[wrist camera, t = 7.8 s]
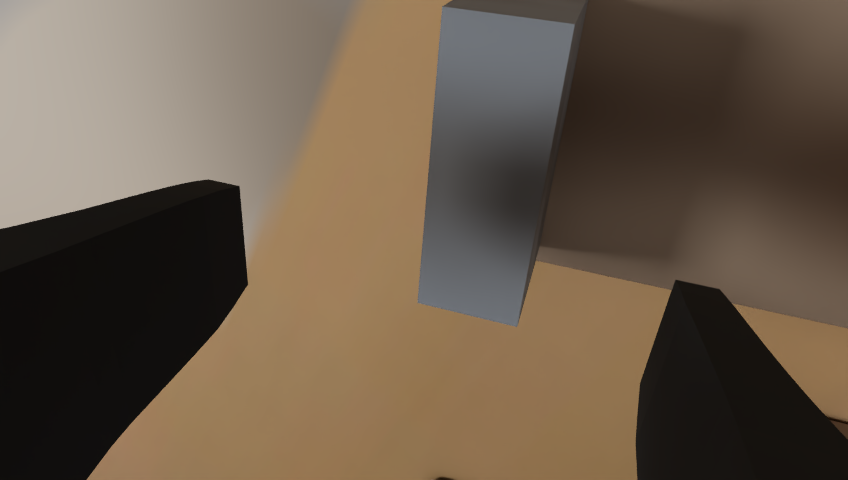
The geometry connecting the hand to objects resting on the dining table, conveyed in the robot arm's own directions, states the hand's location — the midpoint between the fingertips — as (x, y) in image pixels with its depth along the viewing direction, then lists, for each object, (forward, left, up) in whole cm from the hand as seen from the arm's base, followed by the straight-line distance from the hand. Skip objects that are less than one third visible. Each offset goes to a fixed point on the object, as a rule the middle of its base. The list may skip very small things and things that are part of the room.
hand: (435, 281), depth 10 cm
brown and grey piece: (0, -7, -9) cm, 12 cm away
